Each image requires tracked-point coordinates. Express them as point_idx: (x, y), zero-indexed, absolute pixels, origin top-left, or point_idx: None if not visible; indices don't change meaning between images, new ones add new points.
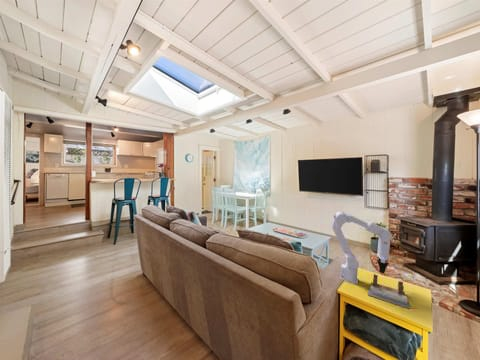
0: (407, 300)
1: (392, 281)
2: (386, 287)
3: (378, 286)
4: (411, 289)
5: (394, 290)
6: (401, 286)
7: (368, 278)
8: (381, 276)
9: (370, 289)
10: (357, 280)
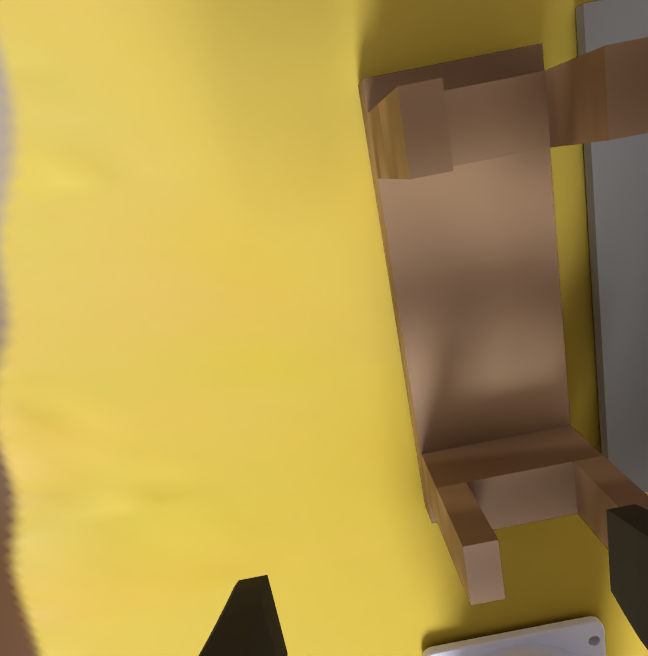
0: (603, 6)
1: (39, 301)
2: (444, 327)
3: (506, 418)
4: (62, 3)
5: (453, 214)
6: (639, 84)
7: (271, 567)
8: (11, 459)
9: (645, 471)
10: (499, 644)
